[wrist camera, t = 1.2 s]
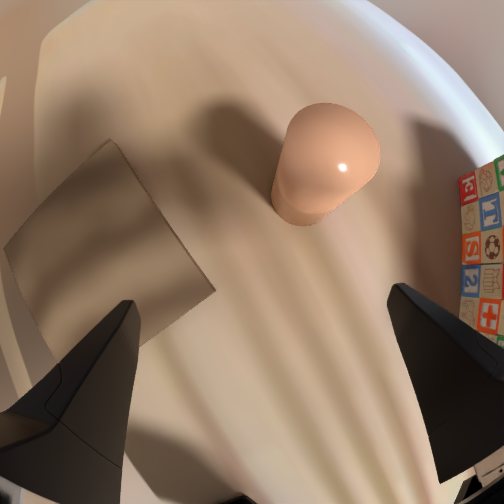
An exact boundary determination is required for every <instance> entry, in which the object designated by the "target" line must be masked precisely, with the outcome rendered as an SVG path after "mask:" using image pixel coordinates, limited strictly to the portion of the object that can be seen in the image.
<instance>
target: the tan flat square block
mask: <svg viewBox="0 0 504 504" xmlns="http://www.w3.org/2000/svg"><path fill="white" fill-rule="evenodd" d="M4 251H5V254H6V257H7V259H8V262H9V265H10V267H11V270H12V272H13V275H14V277H15V280H16V282H17V285H18V287H19V289H20V291H21V294H22V296H23V298H24V300H25V303H26V305H27V307H28V309H29V311H30V313H31V315H32V317H33V319H34V321H35V323H36V325H37V327H38V329H39V331H40V332H41V334H42V336H43V338H44V340H45V341H46V343H47V345H48V347H49V348H50V350H51V352H52V353H53V355H54V357H55V358H56V360H57V362H58V363H59V362H60V360H61V359H62V358H63V357H64V356H65V355H66V354H67V353H68V352H69V351H70V350H71V349H72V348H73V347H74V346H75V345H76V344H77V343H78V342H79V341H80V340H81V339H82V338H83V337H84V336H85V335H86V334H87V333H88V332H89V331H90V330H91V329H93V328H94V327H95V326H96V325H97V324H98V323H99V322H100V321H101V320H102V319H103V318H104V317H105V316H106V315H107V314H108V313H109V312H110V311H111V310H112V309H113V308H114V307H116V306H117V305H118V304H119V303H120V302H121V301H122V300H134V301H135V303H136V306H137V309H138V311H139V314H140V317H141V330H140V341H139V347H140V346H141V345H143V344H144V343H146V342H147V341H148V340H150V339H151V338H152V337H154V336H155V335H157V334H158V333H159V332H161V331H162V330H163V329H165V328H166V327H168V326H169V325H170V324H172V323H173V322H174V321H176V320H177V319H178V318H180V317H181V316H183V315H184V314H185V313H187V312H188V311H189V310H191V309H192V308H193V307H195V306H196V305H197V304H199V303H200V302H202V301H203V300H204V299H206V298H207V297H208V296H210V295H211V294H212V293H214V292H215V291H216V290H215V288H214V287H213V285H212V284H211V283H210V281H209V280H208V279H207V277H206V276H205V274H204V273H203V272H202V270H201V269H200V268H199V266H198V265H197V263H196V262H195V261H194V259H193V258H192V256H191V255H190V254H189V252H188V251H187V249H186V248H185V247H184V245H183V244H182V242H181V241H180V239H179V238H178V236H177V235H176V234H175V232H174V231H173V229H172V228H171V226H170V225H169V223H168V222H167V220H166V219H165V218H164V216H163V215H162V213H161V212H160V210H159V209H158V207H157V206H156V204H155V203H154V201H153V200H152V198H151V197H150V195H149V194H148V192H147V191H146V189H145V188H144V186H143V184H142V183H141V181H140V180H139V178H138V177H137V175H136V174H135V172H134V171H133V169H132V167H131V166H130V164H129V163H128V161H127V160H126V158H125V156H124V155H123V153H122V152H121V150H120V148H119V147H118V145H117V144H116V143H115V142H114V141H113V140H111V141H109V142H108V143H107V144H106V145H104V146H103V147H102V148H101V149H100V150H98V151H97V152H96V153H95V154H94V155H92V156H91V157H90V158H89V159H88V160H87V161H86V162H84V163H83V164H82V165H81V166H80V167H79V168H78V169H77V170H75V171H74V172H73V173H72V174H71V175H70V176H69V177H68V178H67V179H66V180H65V181H64V182H63V183H62V184H61V185H60V186H59V187H58V188H57V189H56V190H55V191H54V192H53V193H52V194H51V195H50V196H49V197H48V198H47V199H46V200H45V201H44V202H43V203H42V204H41V205H40V206H39V207H38V208H37V209H36V210H35V212H34V213H33V214H32V215H31V216H30V217H29V218H28V219H27V221H26V222H25V223H24V224H23V225H22V226H21V227H20V229H19V230H18V231H17V232H16V233H15V235H14V236H13V237H12V238H11V240H10V241H9V242H8V243H7V245H6V246H5V247H4Z"/></svg>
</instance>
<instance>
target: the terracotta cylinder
mask: <svg viewBox="0 0 504 504" xmlns="http://www.w3.org/2000/svg"><path fill="white" fill-rule="evenodd" d="M379 162H380V147H379V143H378V140H377V137H376V135H375V133H374V131H373V130H372V128H371V127H370V125H369V124H368V123H367V122H366V121H365V120H364V119H363V118H362V117H361V116H360V115H358V114H357V113H355V112H354V111H352V110H350V109H348V108H346V107H344V106H341V105H337V104H332V103H318V104H313V105H310V106H307V107H305V108H303V109H302V110H300V111H299V112H298V113H297V114H296V115H295V116H294V117H293V118H292V120H291V121H290V123H289V126H288V129H287V132H286V136H285V140H284V144H283V148H282V151H281V155H280V159H279V163H278V167H277V171H276V174H275V178H274V182H273V186H272V190H271V200H272V204H273V207H274V209H275V211H276V212H277V214H278V215H279V216H280V217H281V218H282V219H283V220H285V221H286V222H288V223H290V224H293V225H296V226H310V225H313V224H315V223H317V222H319V221H320V220H322V219H323V218H324V217H325V216H326V215H328V214H329V213H330V212H331V211H333V210H334V209H335V208H336V207H338V206H339V205H340V204H341V203H343V202H344V201H345V200H346V199H348V198H349V197H350V196H351V195H352V194H354V193H355V192H356V191H357V190H359V189H360V188H361V187H362V186H364V185H365V184H366V183H367V182H368V181H369V180H370V179H371V178H372V177H373V176H374V175H375V173H376V171H377V169H378V166H379Z"/></svg>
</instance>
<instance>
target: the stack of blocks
mask: <svg viewBox="0 0 504 504" xmlns="http://www.w3.org/2000/svg"><path fill="white" fill-rule="evenodd" d="M459 187H460V196H461V205H462V207H461V221H462V234H463V236H462V265H463V266H462V285H461V300H460V311H459V319H460V320H462V321H463V322H465V323H466V324H468V325H469V326H471V327H472V328H473V329H475V330H477V331H478V332H479V333H481V334H482V335H484V336H485V337H487V338H488V339H490V340H491V341H493V342H494V343H496V344H498V345H499V346H501V347H503V348H504V155H502V156H500V157H498V158H496V159H495V160H494V161H493V162H490V163H488V164H486V165H484V166H482V167H480V168H478V169H476V170H475V171H473V172H471V173H469V174H467V175H464V176H462V177H460V178H459Z"/></svg>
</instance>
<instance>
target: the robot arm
mask: <svg viewBox="0 0 504 504" xmlns="http://www.w3.org/2000/svg"><path fill="white" fill-rule="evenodd" d="M387 308H388V311H389V315H390V318H391V322H392V325H393V329H394V332H395V336H396V339H397V343H398V345H399V348H400V351H401V353H402V356H403V359H404V362H405V364H406V367H407V370H408V373H409V376H410V379H411V382H412V385H413V387H414V391H415V394H416V397H417V400H418V403H419V406H420V409H421V413H422V416H423V420H424V423H425V426H426V430H427V434H428V436H429V437H428V438H429V442H430V445H431V449H432V453H433V457H434V462H435V466H436V470H437V475H438V480H439V483H440V484H441V483H443V482H445V481H447V480H449V479H451V478H453V477H455V476H457V475H458V474H460V473H462V472H464V471H465V470H467V469H469V468H471V467H472V466H473V467H474V470H475V473H476V474H475V475H473V476H472V477H470V478H468V479H467V480H465V481H463V483H462V486H461V488H460V491H459V493H458V495H457V497H456V500H455V502H454V504H504V348H503V347H501V346H499V345H498V344H496V343H494V342H493V341H491V340H490V339H488V338H487V337H485V336H484V335H482V334H481V333H479V332H478V331H477V330H475V329H473V328H472V327H471V326H469V325H468V324H466V323H465V322H463V321H462V320H460V319H459V318H457V317H456V316H454V315H453V314H451V313H450V312H448V311H447V310H445V309H444V308H442V307H441V306H439V305H438V304H436V303H435V302H433V301H432V300H430V299H429V298H427V297H425V296H424V295H422V294H421V293H419V292H418V291H416V290H414V289H413V288H411V287H410V286H408V285H406V284H405V283H396V284H394V285H393V286H392V288H391V291H390V294H389V297H388V300H387ZM140 330H141V317H140V314H139V311H138V309H137V306H136V303H135V301H134V300H122V301H121V302H120V303H119V304H118V305H117V306H116V307H114V308H113V309H112V310H111V311H110V312H109V313H108V314H107V315H106V316H105V317H104V318H103V319H102V320H101V321H100V322H99V323H98V324H97V325H96V326H95V327H94V328H93V329H91V330H90V331H89V332H88V333H87V334H86V335H85V336H84V337H83V338H82V339H81V340H80V341H79V342H78V343H77V344H76V345H75V346H74V347H73V348H72V349H71V350H70V351H69V352H68V353H67V354H66V355H65V356H64V357H63V358H62V359H61V360H60V362H59V363H58V364H56V365H55V366H54V368H53V369H52V370H51V371H50V372H49V373H48V374H47V375H46V376H45V377H44V378H43V379H42V380H40V381H39V382H38V383H37V384H36V385H35V386H34V387H33V388H32V389H30V390H29V391H28V392H27V393H26V394H25V395H24V396H23V397H21V398H20V399H19V400H18V401H17V402H16V403H15V404H14V405H13V406H11V407H10V408H9V409H7V410H6V411H3V412H1V413H0V504H120V492H121V478H122V465H123V455H124V447H125V438H126V430H127V423H128V416H129V409H130V403H131V397H132V391H133V385H134V380H135V374H136V369H137V363H138V353H139V341H140ZM222 504H256V503H255V502H253V501H252V500H251V499H249V498H248V497H246V496H240V497H237V498H235V499H233V500H230V501H228V502H225V503H222Z"/></svg>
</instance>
